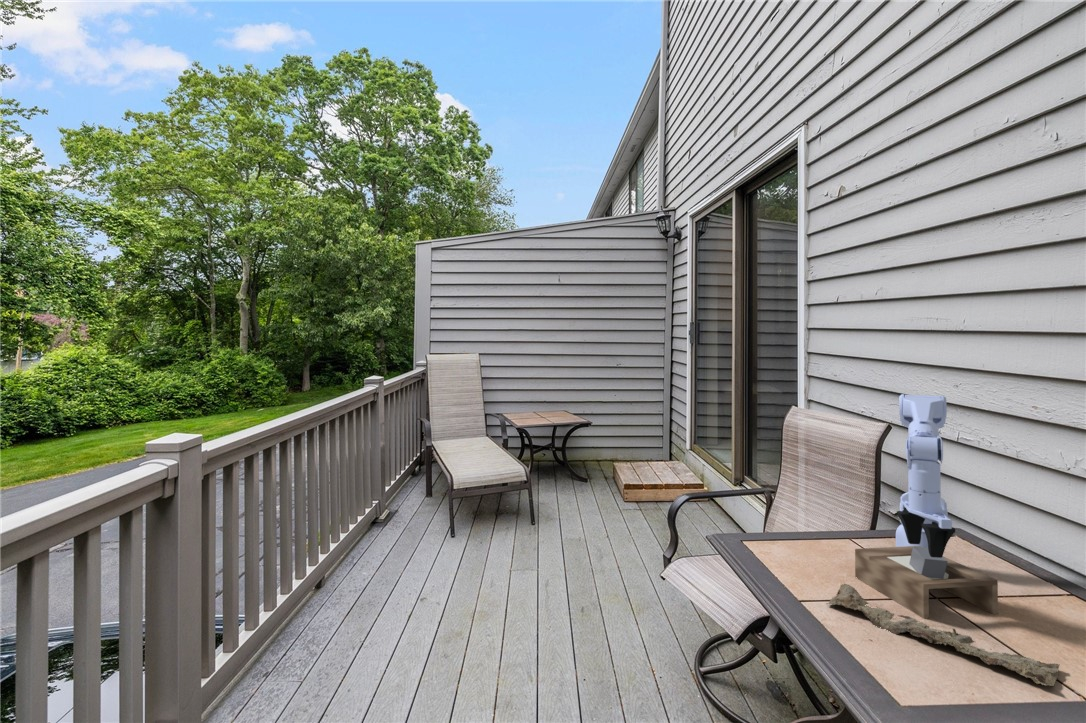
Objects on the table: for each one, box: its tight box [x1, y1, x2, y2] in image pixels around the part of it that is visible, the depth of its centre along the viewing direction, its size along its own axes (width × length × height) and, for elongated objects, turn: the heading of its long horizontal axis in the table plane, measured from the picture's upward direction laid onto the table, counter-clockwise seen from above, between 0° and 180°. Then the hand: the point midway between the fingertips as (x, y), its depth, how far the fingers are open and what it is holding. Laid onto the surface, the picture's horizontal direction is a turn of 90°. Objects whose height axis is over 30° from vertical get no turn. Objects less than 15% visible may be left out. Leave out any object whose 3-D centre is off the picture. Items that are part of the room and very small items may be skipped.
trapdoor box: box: [854, 546, 999, 619], centre depth 110 cm, size 19×17×7 cm
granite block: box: [909, 547, 948, 579], centre depth 109 cm, size 4×4×4 cm
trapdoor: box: [887, 556, 949, 580], centre depth 111 cm, size 7×9×1 cm
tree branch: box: [826, 583, 1060, 687], centre depth 93 cm, size 34×10×3 cm, turn 38°
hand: (924, 550), depth 109 cm, fingers open, 7 cm apart
